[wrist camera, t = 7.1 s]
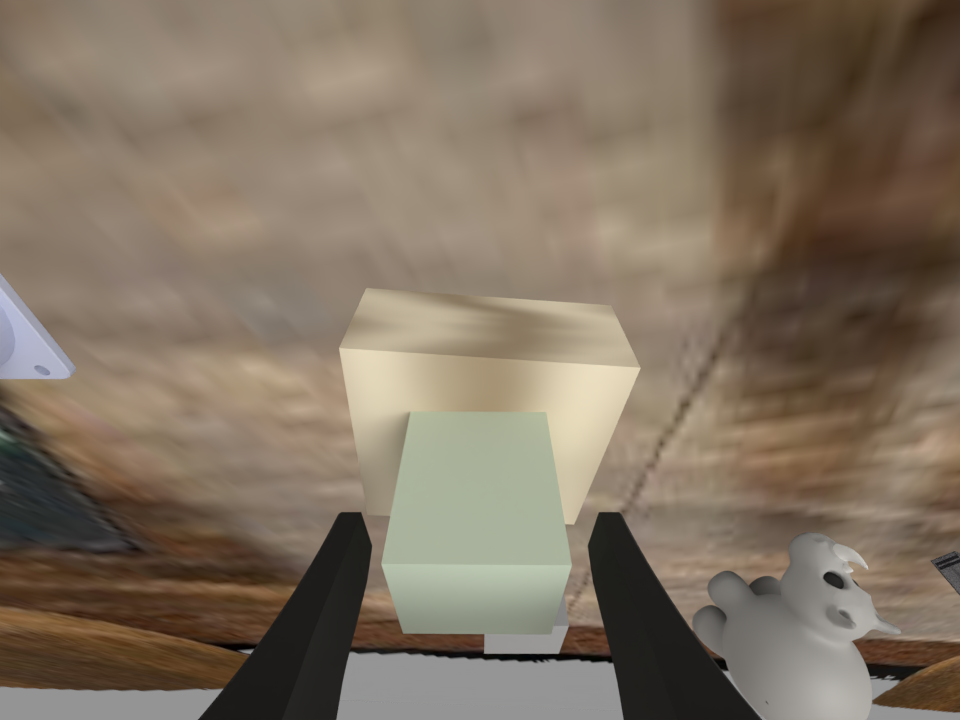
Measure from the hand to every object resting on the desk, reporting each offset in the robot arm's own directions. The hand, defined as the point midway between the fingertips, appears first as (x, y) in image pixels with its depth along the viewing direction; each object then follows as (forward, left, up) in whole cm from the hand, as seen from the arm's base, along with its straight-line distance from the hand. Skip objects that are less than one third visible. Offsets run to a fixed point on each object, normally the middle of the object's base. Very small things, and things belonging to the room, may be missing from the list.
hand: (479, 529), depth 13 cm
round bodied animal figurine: (+20, -17, -7) cm, 26 cm away
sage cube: (0, 0, -3) cm, 3 cm away
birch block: (0, 0, -7) cm, 7 cm away
